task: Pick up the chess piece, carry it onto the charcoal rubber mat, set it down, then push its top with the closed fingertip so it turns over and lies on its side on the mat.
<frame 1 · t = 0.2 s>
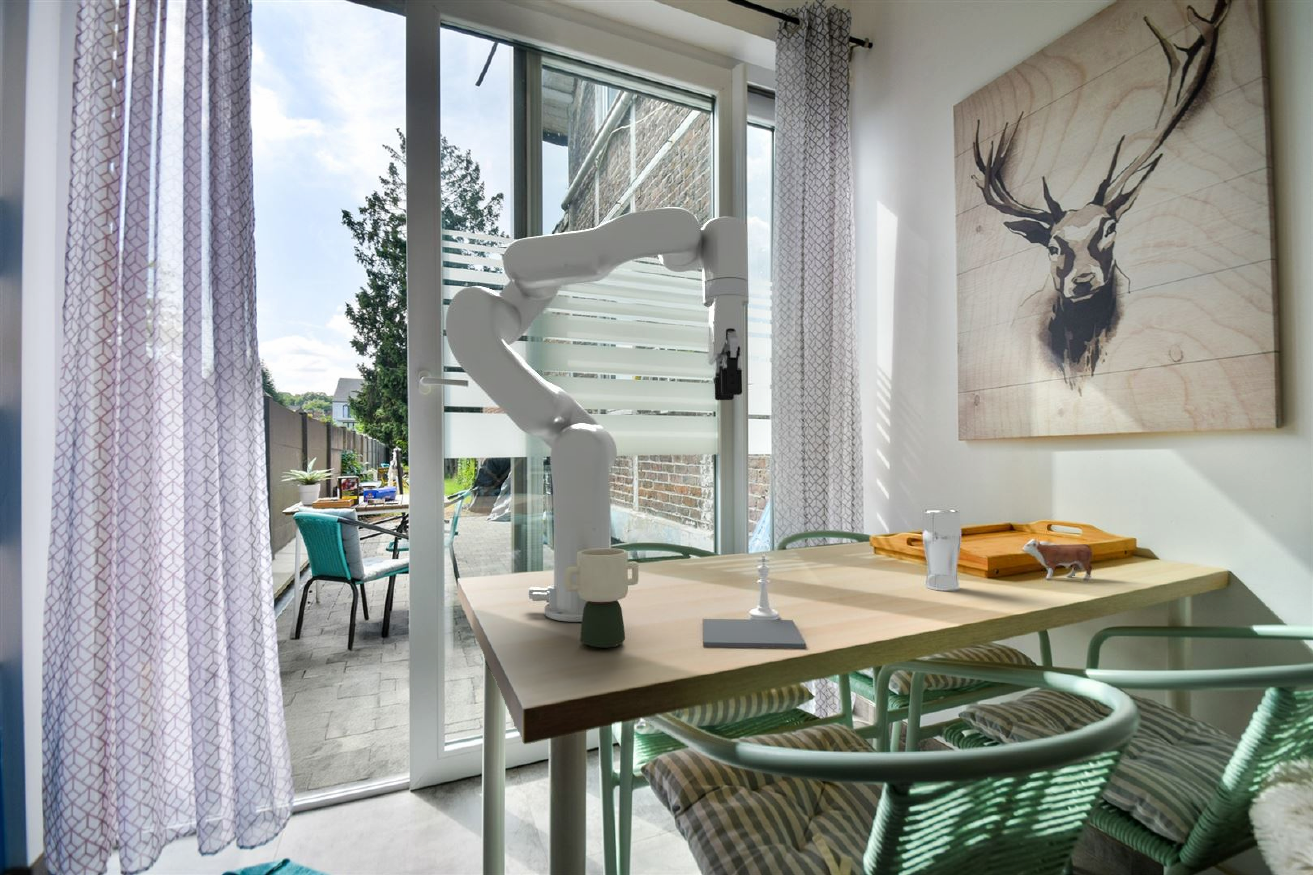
hand: (727, 397, 103), 36 cm above the table, tool pointing down, fingers open, 9 cm apart
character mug: (602, 646, 87), on the table
bull figurine: (1058, 579, 130), on the table
beer glass: (942, 588, 122), on the table
chess piece: (764, 618, 101), on the table
mat: (750, 634, 91), on the table
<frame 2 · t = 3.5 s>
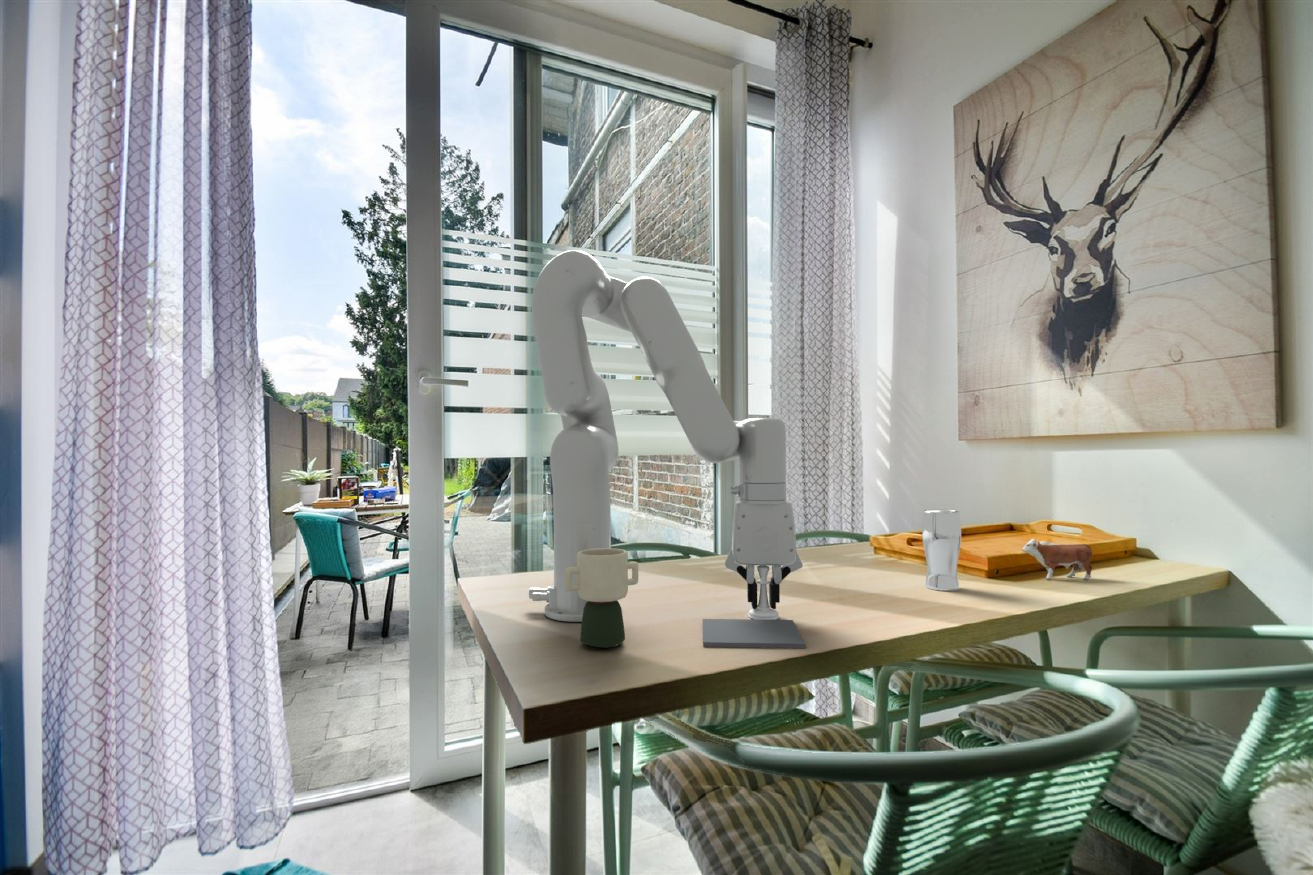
hand: (763, 605, 101), 2 cm above the table, tool pointing down, fingers closed on chess piece
chess piece: (763, 617, 101), on the table, touching gripper
everything else where it was.
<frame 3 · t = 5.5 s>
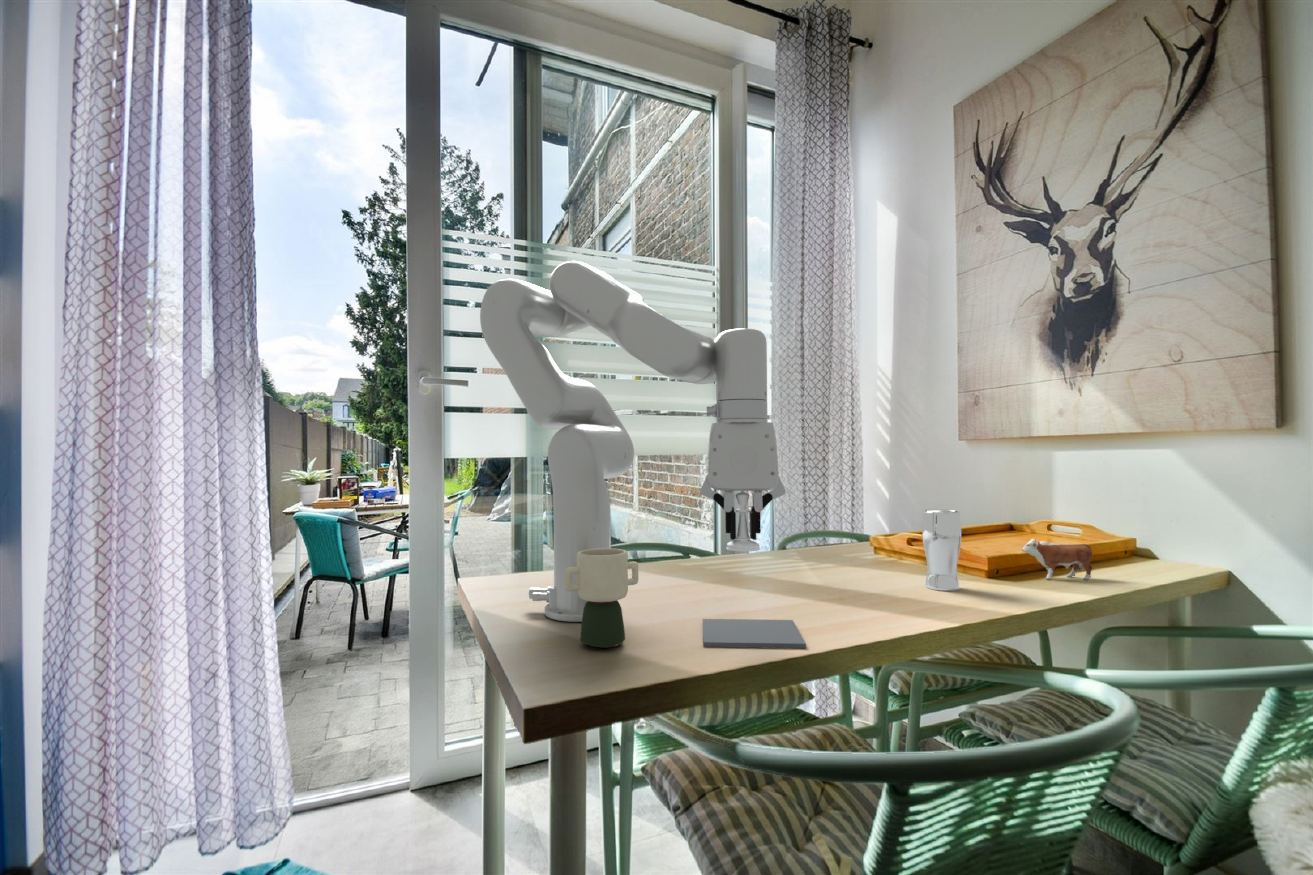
hand: (742, 537, 92), 14 cm above the table, tool pointing down, fingers closed on chess piece
chess piece: (743, 550, 92), point 12 cm above the table, touching gripper
everything else where it was.
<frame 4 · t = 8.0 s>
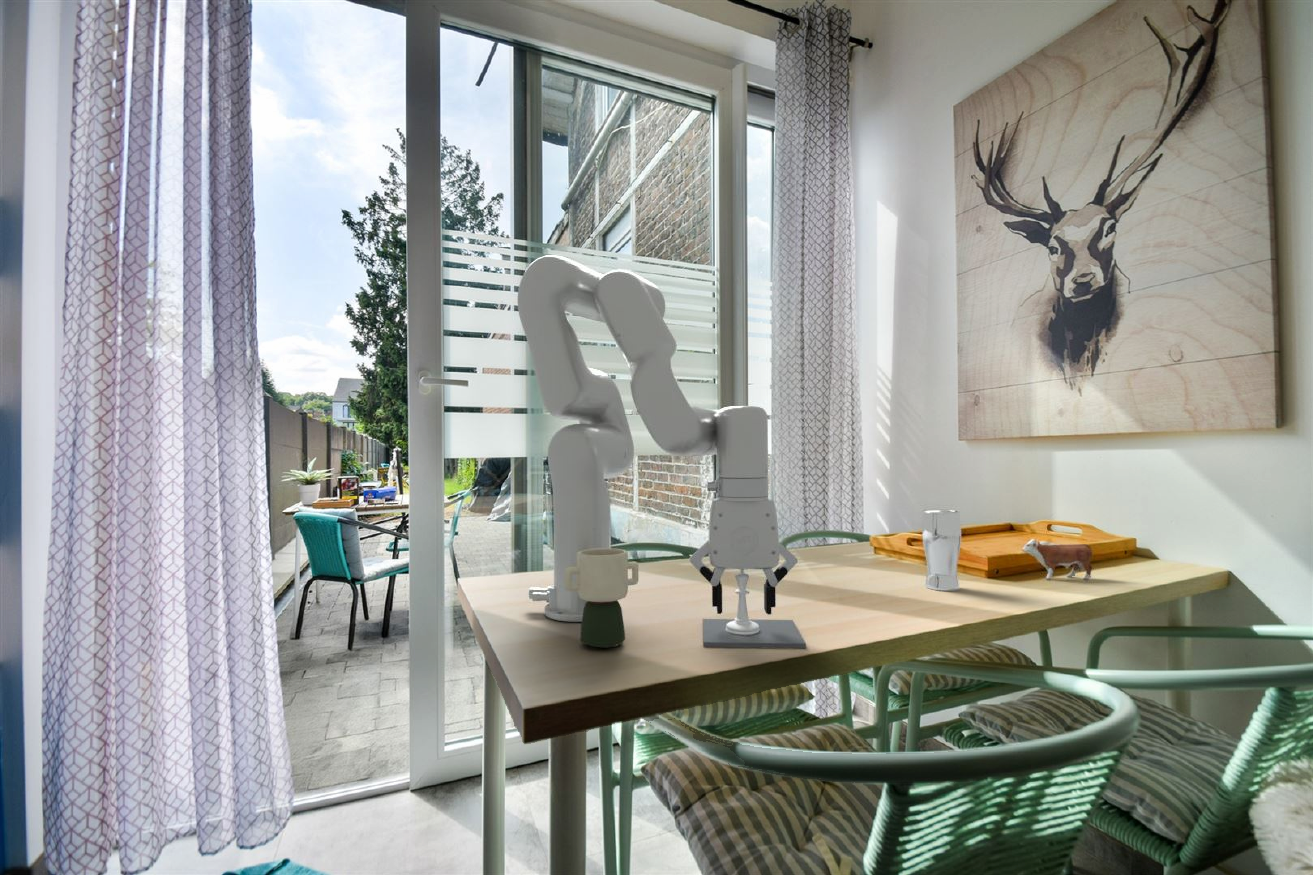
hand: (743, 610, 91), 3 cm above the table, tool pointing down, fingers open, 6 cm apart
chess piece: (742, 631, 91), resting on mat
everything else where it was.
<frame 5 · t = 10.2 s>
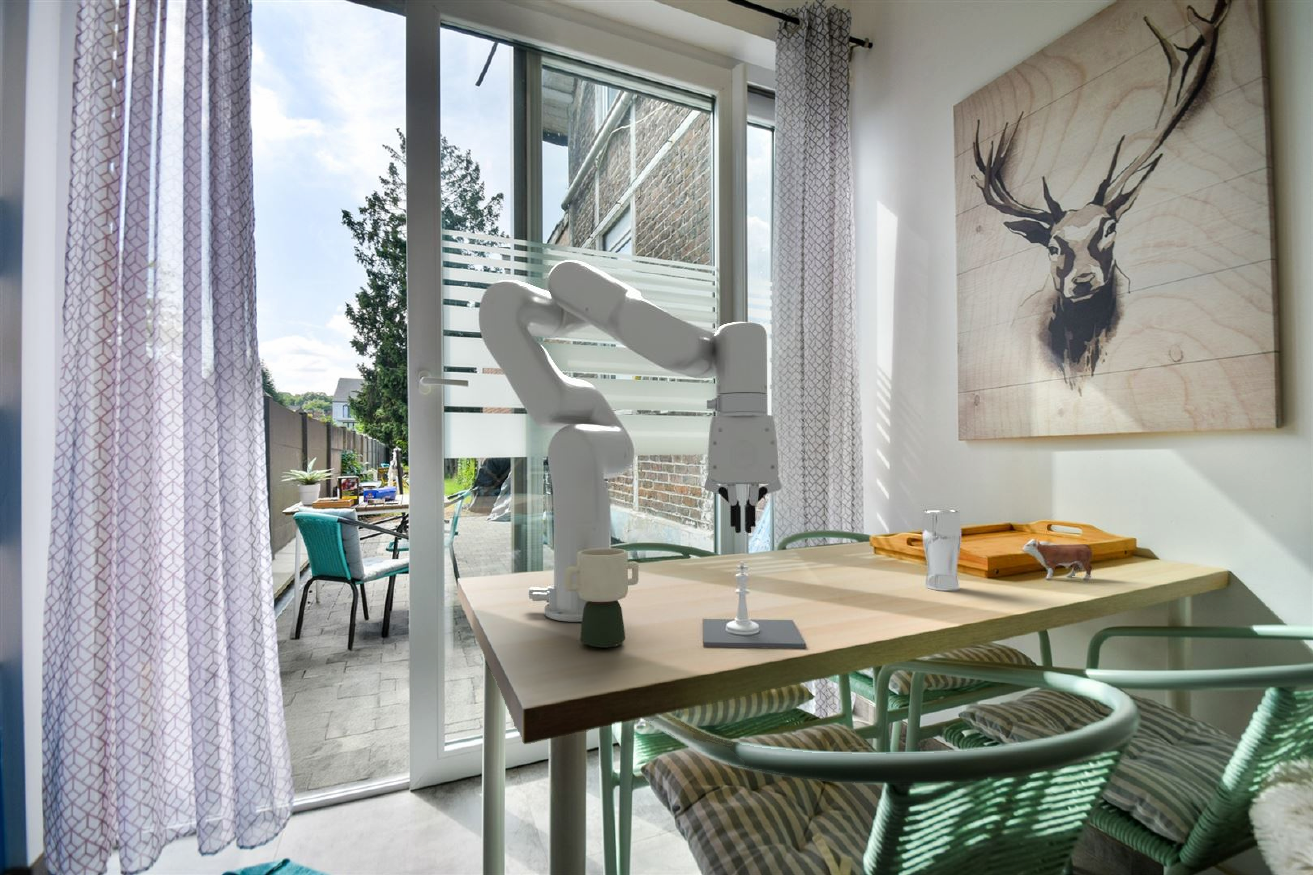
hand: (742, 531, 92), 15 cm above the table, tool pointing down, fingers closed
nothing on the table moved.
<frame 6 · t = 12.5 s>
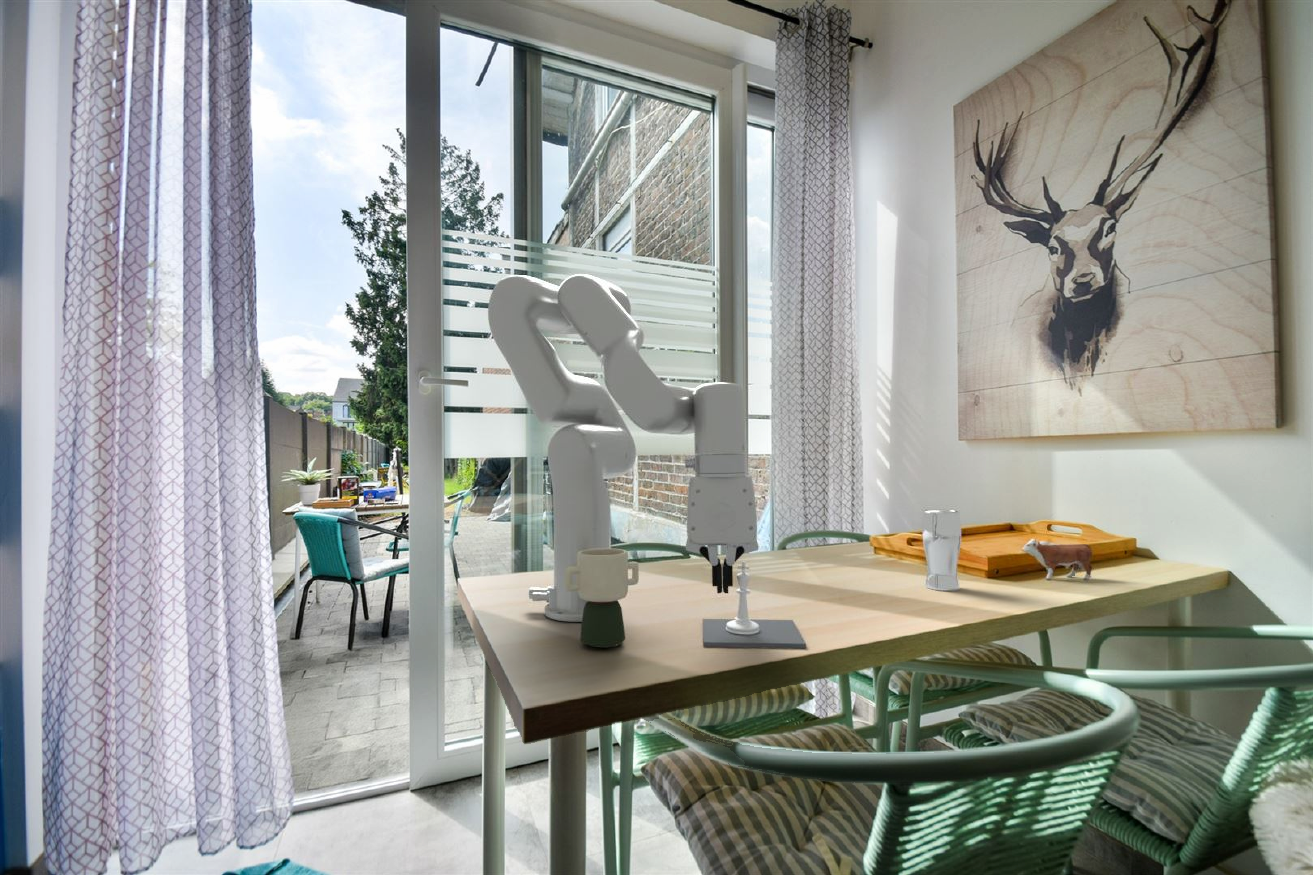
hand: (722, 591, 92), 6 cm above the table, tool pointing down, fingers closed
chess piece: (742, 631, 91), resting on mat, touching gripper
everything else where it was.
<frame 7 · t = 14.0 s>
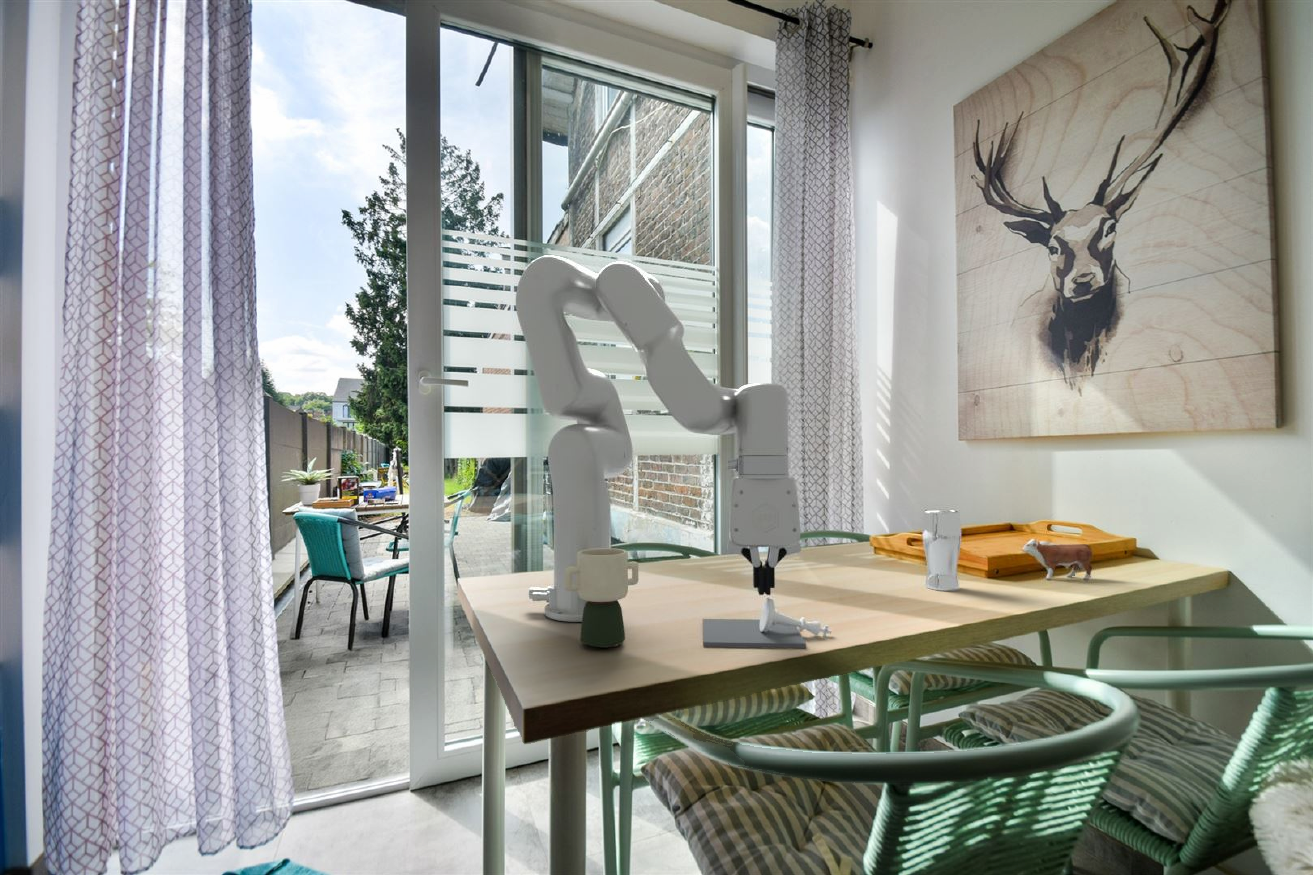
hand: (763, 592, 91), 6 cm above the table, tool pointing down, fingers closed
chess piece: (762, 614, 91), point 3 cm above the table, touching mat
everything else where it was.
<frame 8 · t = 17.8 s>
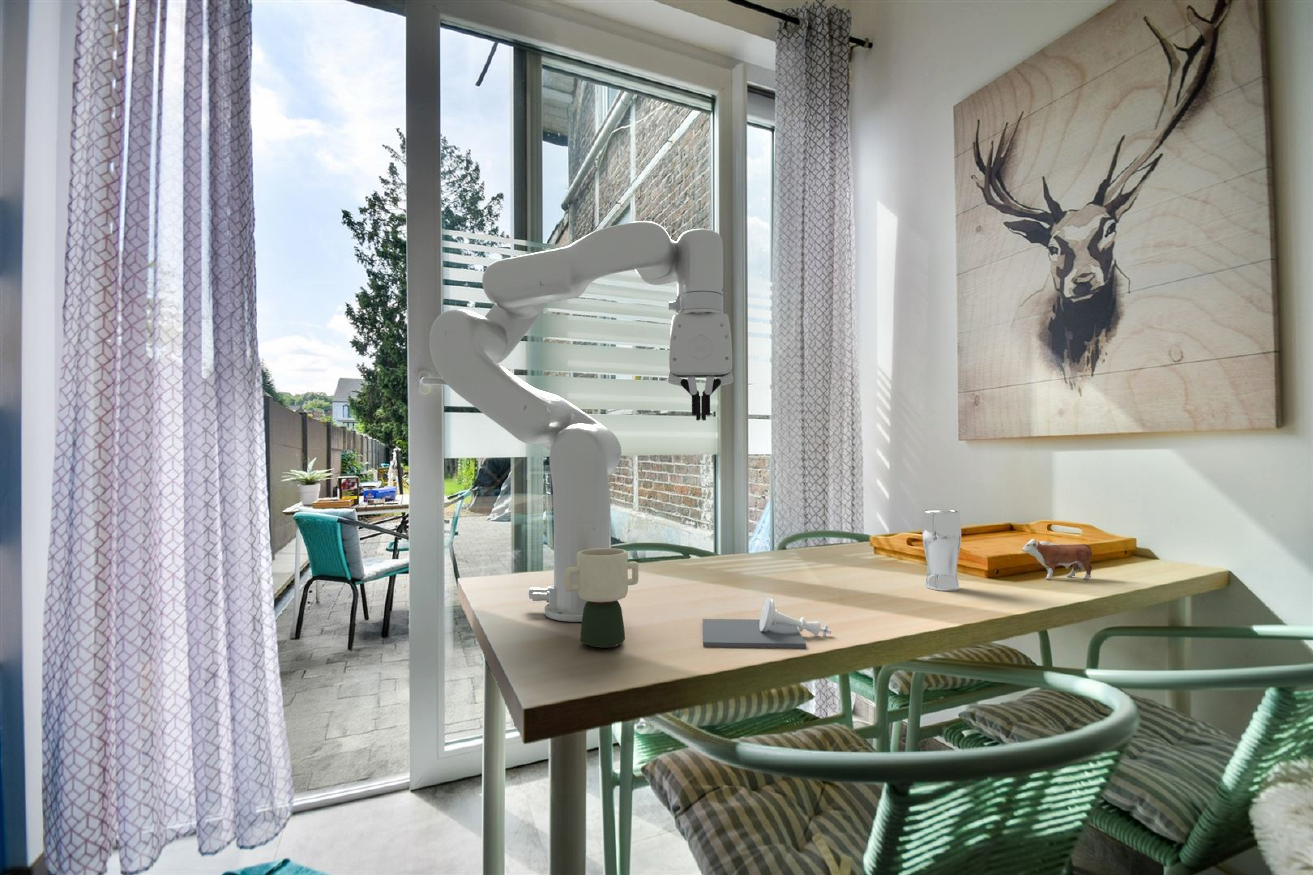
hand: (701, 419, 101), 32 cm above the table, tool pointing down, fingers closed
nothing on the table moved.
at the end: chess piece tilted 105°; chess piece inside the target area (1.8 cm from its centre), point 3.1 cm above the table; the gripper is holding nothing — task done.
